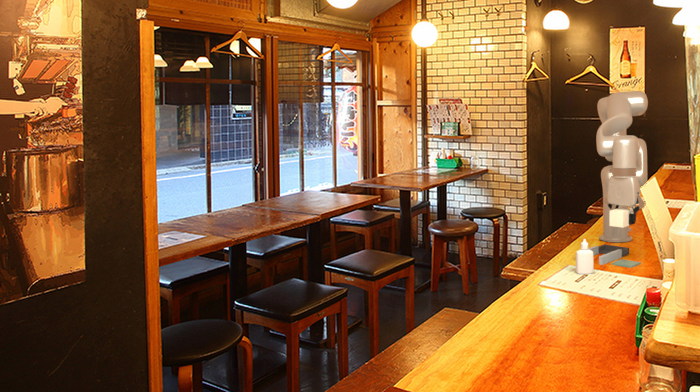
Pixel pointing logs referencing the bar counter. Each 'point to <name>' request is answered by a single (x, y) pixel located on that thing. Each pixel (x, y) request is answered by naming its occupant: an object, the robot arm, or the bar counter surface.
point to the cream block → (619, 217)
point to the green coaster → (626, 263)
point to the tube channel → (606, 255)
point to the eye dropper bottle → (584, 259)
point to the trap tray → (613, 249)
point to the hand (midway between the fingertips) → (624, 222)
